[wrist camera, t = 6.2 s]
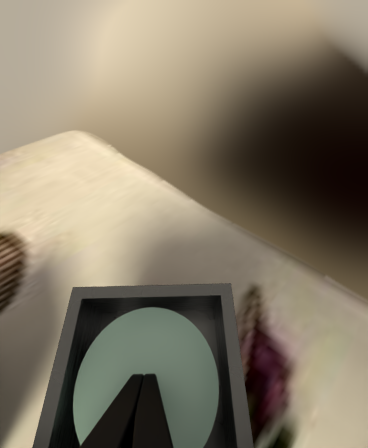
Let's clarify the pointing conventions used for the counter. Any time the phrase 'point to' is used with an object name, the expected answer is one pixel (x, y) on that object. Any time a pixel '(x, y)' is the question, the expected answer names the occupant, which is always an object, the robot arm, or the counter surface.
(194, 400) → the teal button
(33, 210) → the counter surface
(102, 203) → the counter surface
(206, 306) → the teal button housing
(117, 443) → the robot arm
